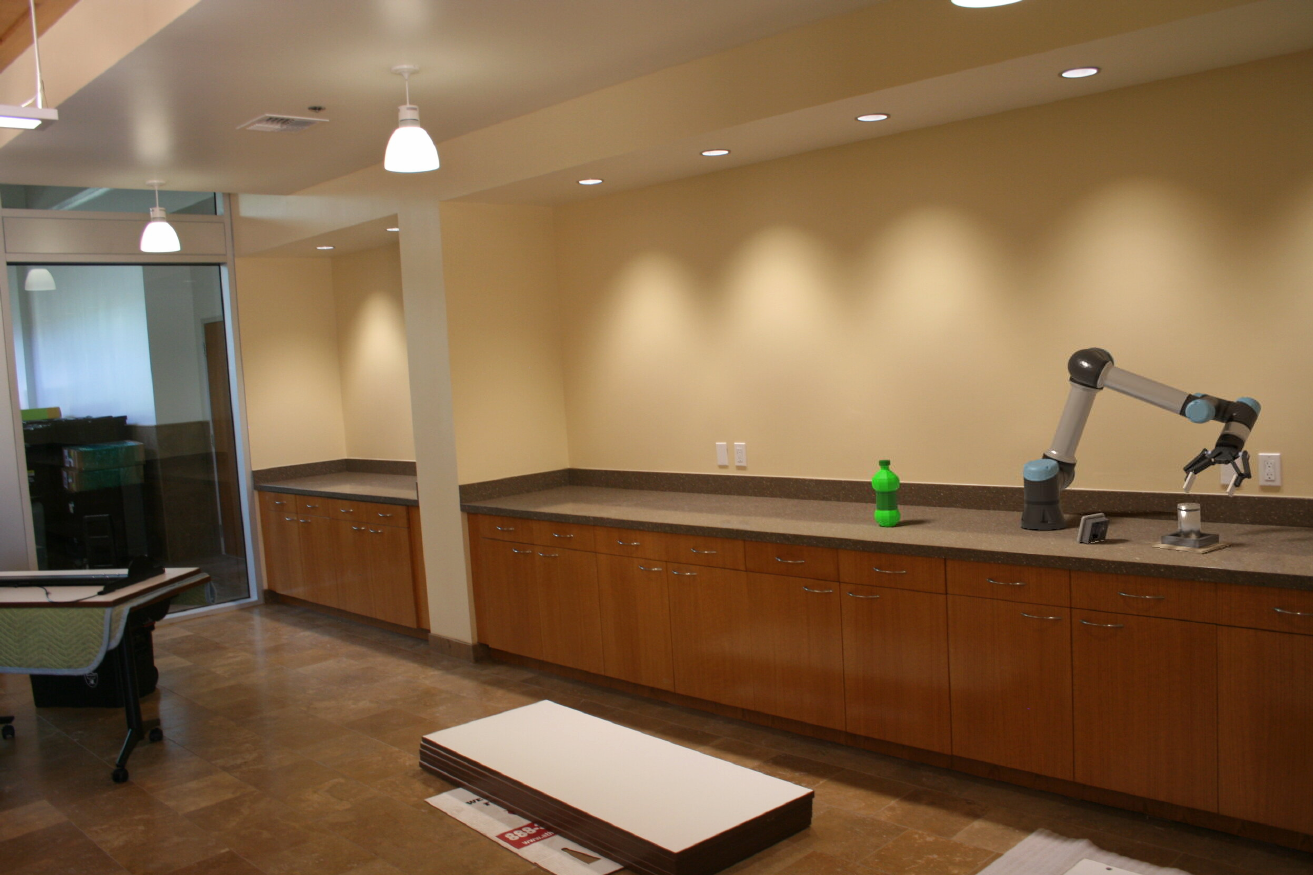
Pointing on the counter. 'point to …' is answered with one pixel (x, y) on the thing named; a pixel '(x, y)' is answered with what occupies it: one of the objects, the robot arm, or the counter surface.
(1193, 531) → the steel piston
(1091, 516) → the electrical switch
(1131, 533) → the counter surface
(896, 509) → the plastic bottle
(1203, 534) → the collar plate
